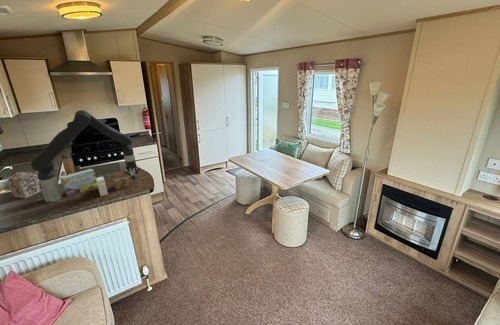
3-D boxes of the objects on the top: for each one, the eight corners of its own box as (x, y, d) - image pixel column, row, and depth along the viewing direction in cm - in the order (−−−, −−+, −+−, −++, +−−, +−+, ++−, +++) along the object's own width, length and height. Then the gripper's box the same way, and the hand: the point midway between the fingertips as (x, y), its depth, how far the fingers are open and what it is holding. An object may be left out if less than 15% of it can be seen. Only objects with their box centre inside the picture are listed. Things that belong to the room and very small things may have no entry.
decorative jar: (25, 198, 173) (17, 176, 167) (13, 197, 175) (4, 175, 169) (42, 191, 184) (34, 170, 178) (30, 189, 186) (22, 168, 180)
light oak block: (116, 189, 186) (114, 183, 184) (114, 186, 193) (113, 180, 191) (132, 186, 193) (131, 180, 191) (130, 182, 199) (129, 176, 197)
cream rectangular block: (100, 196, 177) (97, 185, 173) (98, 188, 189) (96, 178, 185) (108, 194, 179) (105, 183, 176) (105, 186, 191) (103, 176, 188)
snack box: (67, 197, 176) (61, 178, 170) (64, 194, 179) (59, 176, 173) (98, 186, 191) (93, 169, 186) (95, 184, 195) (90, 167, 189)
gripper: (121, 162, 183) (125, 182, 189) (139, 159, 190) (143, 178, 197) (120, 160, 189) (124, 179, 195) (137, 156, 196) (141, 175, 202)
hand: (133, 179), depth 196 cm, fingers closed
